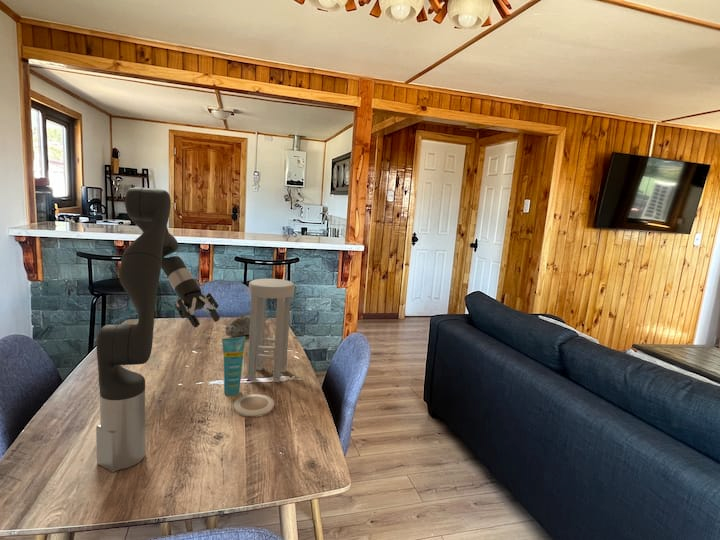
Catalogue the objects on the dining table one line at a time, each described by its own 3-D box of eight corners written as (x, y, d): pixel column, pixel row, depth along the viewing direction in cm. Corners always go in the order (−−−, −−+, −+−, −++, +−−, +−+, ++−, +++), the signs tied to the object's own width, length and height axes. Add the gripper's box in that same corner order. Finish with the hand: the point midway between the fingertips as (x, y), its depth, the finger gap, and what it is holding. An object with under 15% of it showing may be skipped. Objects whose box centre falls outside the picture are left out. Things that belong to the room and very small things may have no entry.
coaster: (255, 420, 120) (256, 416, 120) (225, 408, 125) (225, 404, 125) (281, 404, 131) (281, 400, 131) (252, 394, 136) (252, 390, 136)
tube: (222, 397, 132) (224, 340, 129) (218, 391, 136) (220, 336, 133) (245, 393, 136) (247, 338, 133) (240, 387, 140) (243, 333, 137)
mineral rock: (225, 338, 186) (225, 317, 184) (225, 331, 196) (226, 311, 195) (254, 338, 190) (255, 317, 188) (253, 331, 200) (254, 311, 198)
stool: (283, 386, 144) (288, 288, 138) (239, 381, 145) (243, 284, 139) (292, 368, 159) (298, 280, 154) (253, 364, 160) (257, 276, 154)
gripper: (172, 280, 133) (196, 321, 130) (206, 275, 146) (229, 312, 142) (160, 293, 136) (184, 334, 133) (195, 287, 149) (217, 324, 146)
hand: (207, 323), depth 138 cm, fingers open, 8 cm apart
